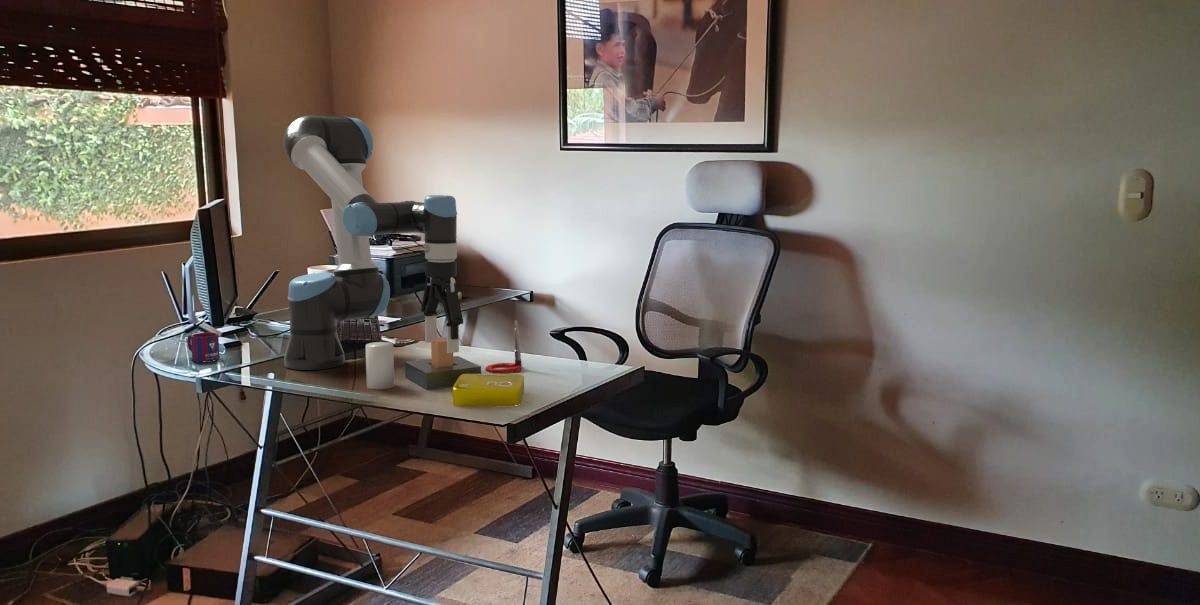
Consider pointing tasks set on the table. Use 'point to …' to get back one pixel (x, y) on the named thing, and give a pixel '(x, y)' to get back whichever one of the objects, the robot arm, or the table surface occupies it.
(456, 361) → the bore block
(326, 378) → the table surface
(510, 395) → the element tile
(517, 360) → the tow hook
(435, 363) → the square peg
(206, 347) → the mug
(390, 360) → the round peg
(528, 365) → the table surface
